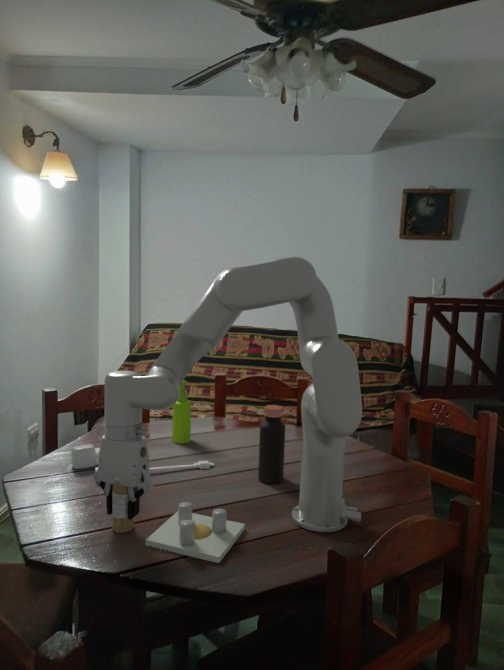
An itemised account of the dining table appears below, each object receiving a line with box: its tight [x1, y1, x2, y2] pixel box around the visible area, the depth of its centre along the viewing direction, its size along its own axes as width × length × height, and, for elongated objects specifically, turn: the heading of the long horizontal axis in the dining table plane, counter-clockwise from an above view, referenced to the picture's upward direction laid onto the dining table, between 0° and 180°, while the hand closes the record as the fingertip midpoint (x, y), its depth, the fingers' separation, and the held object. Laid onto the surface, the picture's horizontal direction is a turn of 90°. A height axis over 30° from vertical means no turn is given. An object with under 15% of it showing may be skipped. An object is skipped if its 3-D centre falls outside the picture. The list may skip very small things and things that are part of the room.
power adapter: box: [71, 443, 100, 470], centre depth 141 cm, size 11×5×6 cm, turn 121°
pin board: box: [145, 501, 246, 564], centre depth 104 cm, size 16×14×5 cm
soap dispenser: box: [171, 380, 192, 444], centre depth 163 cm, size 6×7×20 cm
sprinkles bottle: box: [111, 477, 135, 534], centre depth 106 cm, size 5×5×13 cm
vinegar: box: [257, 404, 286, 485], centre depth 134 cm, size 7×7×20 cm
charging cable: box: [94, 460, 215, 474], centre depth 137 cm, size 5×32×3 cm, turn 113°
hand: (122, 513), depth 106 cm, fingers closed on sprinkles bottle, 4 cm apart
